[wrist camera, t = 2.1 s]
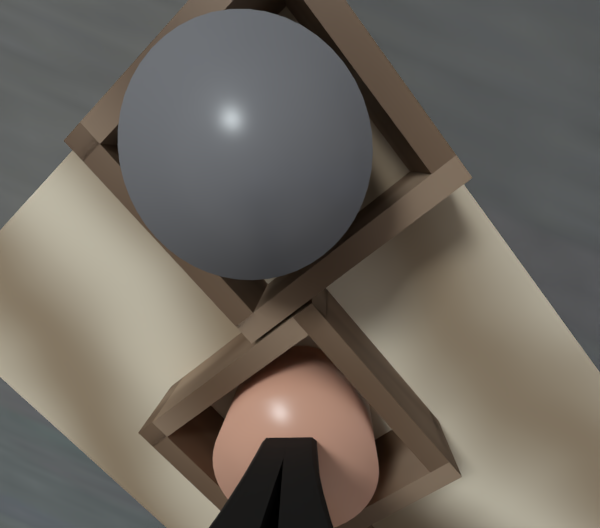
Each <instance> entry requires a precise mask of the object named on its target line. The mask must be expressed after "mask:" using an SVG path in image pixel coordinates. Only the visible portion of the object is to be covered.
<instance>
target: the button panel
mask: <svg viewBox="0 0 600 528" xmlns="http://www.w3.org/2000/svg"><path fill="white" fill-rule="evenodd" d="M227 9H252V10H259V11H266V12H270V13H273V14H276V15H279V16H283V17H285V18H288V19H290V20H292V21H294V22H296V23H298V24H300V25H302V26H304V27H305V28H307V29H308V30H310V31H311V32H313V33H314V34H316V35H317V36H318V37H319V38H321V39H322V40H323V41H324V42H325V43H326V44H327V45H328V46H330V47H331V48H332V49H333V51H334V52H335V53H336V54H337V55H338V56H339V58H340V59H341V60H342V61H343V62H344V64H345V65H346V67H347V68H348V70H349V71H350V73H351V74H352V76H353V78H354V79H355V81H356V83H357V85H358V88H359V90H360V92H361V94H362V96H363V99H364V102H365V105H366V108H367V112H368V115H369V120H370V126H371V131H372V145H373V157H372V170H371V175H370V180H369V185H368V188H367V191H366V194H365V197H364V200H363V203H362V205H361V207H360V209H359V211H358V213H357V215H356V217H355V219H354V221H353V222H352V224H351V225H350V227H349V228H348V230H347V231H346V233H345V234H344V235H343V236H342V237H341V239H340V240H339V241H338V242H337V243H336V244H335V245H334V246H333V247H332V248H331V249H330V250H329V251H327V252H326V253H325V254H324V255H323V256H321V257H320V258H318V259H317V260H315V261H314V262H313V263H311V264H309V265H307V266H305V267H303V268H301V269H299V270H297V271H295V272H292V273H289V274H286V275H283V276H279V277H275V278H270V279H261V280H238V279H232V278H226V277H221V276H218V275H214V274H211V273H208V272H206V271H203V270H201V269H199V268H196V267H194V266H192V265H191V264H189V263H187V262H186V261H184V260H182V259H181V258H179V257H178V256H176V255H175V254H174V253H173V252H171V251H170V250H169V249H167V248H166V247H165V246H164V245H163V244H162V243H161V242H160V241H159V240H158V239H157V238H156V237H155V236H154V234H153V233H152V232H151V231H150V230H149V228H148V227H147V226H146V225H145V223H144V222H143V220H142V219H141V217H140V215H139V214H138V212H137V211H136V209H135V207H134V205H133V203H132V201H131V199H130V197H129V194H128V191H127V188H126V186H125V183H124V180H123V176H122V171H121V167H120V162H119V153H118V124H119V117H120V110H121V106H122V103H123V99H124V95H125V92H126V90H127V87H128V85H129V83H130V80H131V78H132V76H133V74H134V73H135V71H136V69H137V67H138V66H139V64H140V62H141V61H142V60H143V58H144V57H145V56H146V54H147V53H148V52H149V51H150V49H151V48H152V47H153V46H154V45H155V44H156V43H157V42H158V41H159V40H160V39H162V38H163V37H164V36H165V35H166V34H168V33H169V32H170V31H172V30H173V29H175V28H176V27H177V26H179V25H181V24H183V23H185V22H187V21H189V20H191V19H193V18H195V17H198V16H201V15H204V14H207V13H210V12H215V11H221V10H227ZM64 142H65V143H66V144H67V145H68V146H69V147H70V148H71V149H72V150H73V151H72V152H71V153H70V154H69V155H68V156H67V157H66V158H65V159H64V161H63V162H62V163H61V164H60V165H59V166H58V167H57V168H56V169H55V170H54V172H53V173H52V174H51V175H50V176H49V177H48V178H47V179H46V180H45V181H44V183H43V184H42V185H41V186H40V187H39V188H38V189H37V190H36V191H35V193H34V194H33V195H32V196H31V197H30V198H29V199H28V200H27V201H26V202H25V204H24V205H23V206H22V207H21V208H20V209H19V210H18V211H17V212H16V213H15V215H14V216H13V217H12V218H11V219H10V220H9V221H8V222H7V223H6V224H5V226H4V227H3V228H2V229H1V230H0V377H1V378H2V379H3V380H4V381H5V382H6V383H7V384H9V385H10V386H11V387H12V388H13V389H14V390H15V391H16V392H17V393H18V394H20V395H21V396H22V397H23V398H24V399H25V400H26V401H27V402H28V403H30V404H31V405H32V406H33V407H34V408H35V409H36V410H37V411H38V412H39V413H41V414H42V415H43V416H44V417H45V418H46V419H47V420H48V421H49V422H51V423H52V424H53V425H54V426H55V427H56V428H57V429H58V430H59V431H60V432H62V433H63V434H64V435H65V436H66V437H67V438H68V439H69V440H70V441H72V442H73V443H74V444H75V445H76V446H77V447H78V448H79V449H80V450H81V451H83V452H84V453H85V454H86V455H87V456H88V457H89V458H90V459H91V460H93V461H94V462H95V463H96V464H97V465H98V466H99V467H100V468H101V469H102V470H104V471H105V472H106V473H107V474H108V475H109V476H110V477H111V478H112V479H114V480H115V481H116V482H117V483H118V484H119V485H120V486H121V487H122V488H123V489H125V490H126V491H127V492H128V493H129V494H130V495H131V496H132V497H133V498H135V499H136V500H137V501H138V502H139V503H140V504H141V505H142V506H143V507H144V508H146V509H147V510H148V511H149V512H150V513H151V514H152V515H153V516H154V517H156V518H157V519H158V520H159V521H160V522H161V523H162V524H163V525H164V526H165V527H167V528H209V527H210V525H211V524H212V522H213V521H214V520H215V518H216V517H217V515H218V514H219V513H220V511H221V510H222V508H223V507H224V505H225V503H226V502H227V500H228V499H227V498H226V496H225V495H224V493H223V492H222V490H221V488H220V487H219V485H218V482H217V480H216V477H215V474H214V469H213V450H214V446H215V442H216V439H217V437H218V435H219V432H220V430H221V427H222V425H223V422H224V420H225V418H226V415H227V413H228V410H229V408H230V405H231V403H232V400H233V398H234V396H235V393H236V391H237V388H238V386H239V385H240V384H241V383H243V382H244V381H245V380H247V379H248V378H249V377H251V376H252V375H254V374H255V373H256V372H258V371H259V370H261V369H262V368H263V367H265V366H266V365H268V364H269V363H270V362H272V361H273V360H274V359H276V358H277V357H279V356H280V355H281V354H283V353H284V352H286V351H287V350H288V349H290V348H291V347H292V346H308V347H314V348H318V349H321V350H322V351H323V352H324V353H325V354H326V355H327V357H328V358H329V359H330V360H331V361H332V362H333V363H334V364H335V366H336V367H337V368H338V369H339V370H340V371H341V372H342V373H343V375H344V376H345V377H346V378H347V379H348V380H349V381H350V383H351V384H352V385H353V386H354V387H355V388H356V389H357V390H358V392H359V393H360V394H361V395H362V396H363V397H364V398H365V399H366V401H367V402H368V403H369V407H370V413H371V419H372V426H373V432H374V438H375V445H376V451H377V457H378V464H379V477H378V483H377V487H376V490H375V492H374V495H373V497H372V498H371V500H370V501H369V503H368V504H367V506H366V507H365V508H364V509H363V510H362V511H361V512H360V513H359V514H358V515H356V516H355V517H354V518H352V519H351V520H349V521H348V522H346V523H344V524H342V525H340V526H338V527H335V528H600V372H599V371H598V370H597V368H596V367H595V365H594V364H593V363H592V361H591V360H590V358H589V357H588V356H587V354H586V353H585V352H584V350H583V349H582V347H581V346H580V345H579V343H578V342H577V340H576V339H575V338H574V336H573V335H572V334H571V332H570V331H569V329H568V328H567V327H566V325H565V324H564V322H563V321H562V320H561V318H560V317H559V316H558V314H557V313H556V311H555V310H554V309H553V307H552V306H551V304H550V303H549V302H548V300H547V299H546V298H545V296H544V295H543V293H542V292H541V291H540V289H539V288H538V286H537V285H536V284H535V282H534V281H533V280H532V278H531V277H530V275H529V274H528V273H527V271H526V270H525V268H524V267H523V266H522V264H521V263H520V262H519V260H518V259H517V257H516V256H515V255H514V253H513V252H512V250H511V249H510V248H509V246H508V245H507V244H506V242H505V241H504V239H503V238H502V237H501V235H500V234H499V232H498V231H497V230H496V228H495V227H494V226H493V224H492V223H491V221H490V220H489V219H488V217H487V216H486V214H485V213H484V212H483V210H482V209H481V208H480V206H479V205H478V203H477V202H476V201H475V199H474V198H473V196H472V195H471V194H470V192H469V191H468V190H467V188H466V187H465V185H464V184H465V183H466V182H468V181H469V180H470V179H472V177H471V175H470V174H469V172H468V171H467V170H466V168H465V167H464V165H463V164H462V163H461V161H460V160H459V158H458V157H457V156H456V154H455V153H454V151H453V150H452V149H451V147H450V146H449V144H448V143H447V142H446V140H445V139H444V137H443V136H442V135H441V133H440V132H439V130H438V129H437V128H436V126H435V125H434V123H433V122H432V121H431V119H430V118H429V116H428V115H427V114H426V112H425V111H424V109H423V108H422V107H421V105H420V104H419V102H418V101H417V100H416V98H415V97H414V95H413V94H412V93H411V91H410V90H409V88H408V87H407V86H406V84H405V83H404V81H403V80H402V79H401V77H400V76H399V74H398V73H397V72H396V70H395V69H394V67H393V66H392V65H391V63H390V62H389V60H388V59H387V58H386V56H385V55H384V53H383V52H382V51H381V49H380V48H379V46H378V45H377V44H376V42H375V41H374V39H373V38H372V37H371V35H370V34H369V32H368V31H367V30H366V28H365V27H364V25H363V24H362V23H361V21H360V20H359V18H358V17H357V16H356V14H355V13H354V12H353V10H352V9H351V7H350V6H349V5H348V3H347V2H346V0H188V1H187V3H186V4H185V5H184V6H183V7H182V8H181V9H180V10H179V12H178V13H177V14H176V15H175V16H174V17H173V18H172V19H171V21H170V22H169V23H168V24H167V25H166V26H165V27H164V28H163V30H162V31H161V32H160V33H159V34H158V35H157V36H156V37H155V39H154V40H153V41H152V42H151V43H150V44H149V45H148V46H147V48H146V49H145V50H144V51H143V52H142V53H141V54H140V55H139V57H138V58H137V59H136V60H135V61H134V62H133V63H132V64H131V66H130V67H129V68H128V69H127V70H126V71H125V72H124V73H123V75H122V76H121V77H120V78H119V79H118V80H117V81H116V82H115V84H114V85H113V86H112V87H111V88H110V89H109V90H108V91H107V93H106V94H105V95H104V96H103V97H102V98H101V99H100V100H99V102H98V103H97V104H96V105H95V106H94V107H93V108H92V109H91V111H90V112H89V113H88V114H87V115H86V116H85V117H84V118H83V120H82V121H81V122H80V123H79V124H78V125H77V126H76V127H75V129H74V130H73V131H72V132H71V133H70V134H69V135H68V136H67V138H66V139H65V140H64Z"/></svg>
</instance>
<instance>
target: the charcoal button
mask: <svg viewBox="0 0 600 528" xmlns="http://www.w3.org/2000/svg"><path fill="white" fill-rule="evenodd" d="M118 153H119V162H120V167H121V171H122V176H123V180H124V183H125V186H126V188H127V191H128V194H129V197H130V199H131V201H132V203H133V205H134V207H135V209H136V211H137V212H138V214H139V215H140V217H141V219H142V220H143V222H144V223H145V225H146V226H147V227H148V228H149V230H150V231H151V232H152V233H153V234H154V236H155V237H156V238H157V239H158V240H159V241H160V242H161V243H162V244H163V245H164V246H165V247H166V248H167V249H169V250H170V251H171V252H173V253H174V254H175V255H176V256H178V257H179V258H181V259H182V260H184V261H186V262H187V263H189V264H191V265H192V266H194V267H196V268H199V269H201V270H203V271H206V272H208V273H211V274H214V275H218V276H221V277H226V278H232V279H238V280H261V279H270V278H275V277H279V276H283V275H286V274H289V273H292V272H295V271H297V270H299V269H301V268H303V267H305V266H307V265H309V264H311V263H313V262H314V261H315V260H317V259H318V258H320V257H321V256H323V255H324V254H325V253H326V252H327V251H329V250H330V249H331V248H332V247H333V246H334V245H335V244H336V243H337V242H338V241H339V240H340V239H341V237H342V236H343V235H344V234H345V233H346V231H347V230H348V228H349V227H350V225H351V224H352V222H353V221H354V219H355V217H356V215H357V213H358V211H359V209H360V207H361V205H362V203H363V200H364V197H365V194H366V191H367V188H368V185H369V180H370V175H371V170H372V157H373V145H372V131H371V126H370V120H369V115H368V112H367V108H366V105H365V102H364V99H363V96H362V94H361V92H360V90H359V88H358V85H357V83H356V81H355V79H354V78H353V76H352V74H351V73H350V71H349V70H348V68H347V67H346V65H345V64H344V62H343V61H342V60H341V59H340V58H339V56H338V55H337V54H336V53H335V52H334V51H333V49H332V48H331V47H330V46H328V45H327V44H326V43H325V42H324V41H323V40H322V39H321V38H319V37H318V36H317V35H316V34H314V33H313V32H311V31H310V30H308V29H307V28H305V27H304V26H302V25H300V24H298V23H296V22H294V21H292V20H290V19H288V18H285V17H283V16H279V15H276V14H273V13H270V12H266V11H259V10H252V9H227V10H221V11H215V12H210V13H207V14H204V15H201V16H198V17H195V18H193V19H191V20H189V21H187V22H185V23H183V24H181V25H179V26H177V27H176V28H175V29H173V30H172V31H170V32H169V33H168V34H166V35H165V36H164V37H163V38H162V39H160V40H159V41H158V42H157V43H156V44H155V45H154V46H153V47H152V48H151V49H150V51H149V52H148V53H147V54H146V56H145V57H144V58H143V60H142V61H141V62H140V64H139V66H138V67H137V69H136V71H135V73H134V74H133V76H132V78H131V80H130V83H129V85H128V87H127V90H126V92H125V95H124V99H123V103H122V106H121V110H120V117H119V124H118Z"/></svg>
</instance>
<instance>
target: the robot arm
mask: <svg viewBox="0 0 600 528" xmlns="http://www.w3.org/2000/svg"><path fill="white" fill-rule="evenodd" d="M209 528H333V525H332V521H331V518H330V515H329V511H328V507H327V504H326V500H325V496H324V493H323V488H322V484H321V479H320V473H319V461H318V450H317V441H316V440H315V439H314V438H313V437H292V438H266V439H265V440H264V441H263V442H262V443H261V445H260V447H259V449H258V451H257V453H256V455H255V456H254V458H253V460H252V462H251V463H250V465H249V467H248V468H247V470H246V472H245V473H244V475H243V477H242V478H241V480H240V482H239V483H238V485H237V486H236V488H235V490H234V491H233V493H232V494H231V496H230V497H229V499H228V500H227V502H226V503H225V505H224V507H223V508H222V510H221V511H220V513H219V514H218V515H217V517H216V518H215V520H214V521H213V522H212V524H211V525H210V527H209Z"/></svg>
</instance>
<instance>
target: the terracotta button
mask: <svg viewBox="0 0 600 528" xmlns="http://www.w3.org/2000/svg"><path fill="white" fill-rule="evenodd" d="M292 437H313V438H314V439H315V440H316V441H317V450H318V461H319V473H320V479H321V484H322V488H323V493H324V496H325V500H326V504H327V507H328V511H329V515H330V518H331V521H332V525H333V528H335V527H338V526H340V525H342V524H344V523H346V522H348V521H349V520H351V519H352V518H354V517H355V516H356V515H358V514H359V513H360V512H361V511H362V510H363V509H364V508H365V507H366V506H367V504H368V503H369V501H370V500H371V498H372V497H373V495H374V492H375V490H376V487H377V483H378V477H379V464H378V457H377V451H376V445H375V438H374V432H373V426H372V419H371V413H370V407H369V403H368V402H367V401H366V399H365V398H364V397H363V396H362V395H361V394H360V393H359V392H358V390H357V389H356V388H355V387H354V386H353V385H352V384H351V383H350V381H349V380H348V379H347V378H346V377H345V376H344V375H343V373H342V372H341V371H340V370H339V369H338V368H337V367H336V366H335V364H334V363H333V362H332V361H331V360H330V359H329V358H328V357H327V355H326V354H325V353H324V352H323V351H322V350H321V349H318V348H314V347H308V346H292V347H291V348H290V349H288V350H287V351H286V352H284V353H283V354H281V355H280V356H279V357H277V358H276V359H274V360H273V361H272V362H270V363H269V364H268V365H266V366H265V367H263V368H262V369H261V370H259V371H258V372H256V373H255V374H254V375H252V376H251V377H249V378H248V379H247V380H245V381H244V382H243V383H241V384H240V385H239V386H238V388H237V391H236V393H235V396H234V398H233V400H232V403H231V405H230V408H229V410H228V413H227V415H226V418H225V420H224V422H223V425H222V427H221V430H220V432H219V435H218V437H217V439H216V442H215V446H214V450H213V469H214V474H215V477H216V480H217V482H218V485H219V487H220V488H221V490H222V492H223V493H224V495H225V496H226V498H227V499H229V497H230V496H231V494H232V493H233V491H234V490H235V488H236V486H237V485H238V483H239V482H240V480H241V478H242V477H243V475H244V473H245V472H246V470H247V468H248V467H249V465H250V463H251V462H252V460H253V458H254V456H255V455H256V453H257V451H258V449H259V447H260V445H261V443H262V442H263V441H264V440H265V439H266V438H292Z"/></svg>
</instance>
